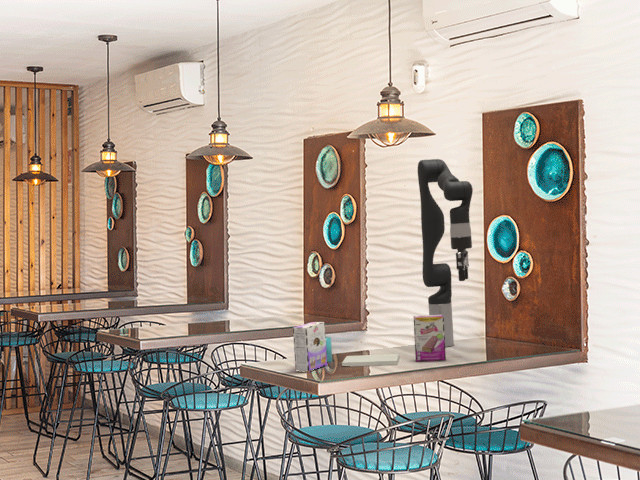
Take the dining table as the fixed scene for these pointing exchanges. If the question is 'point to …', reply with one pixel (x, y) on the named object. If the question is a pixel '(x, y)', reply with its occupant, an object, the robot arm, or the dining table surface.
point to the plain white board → (371, 360)
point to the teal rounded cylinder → (329, 349)
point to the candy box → (310, 346)
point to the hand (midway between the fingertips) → (463, 280)
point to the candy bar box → (429, 338)
